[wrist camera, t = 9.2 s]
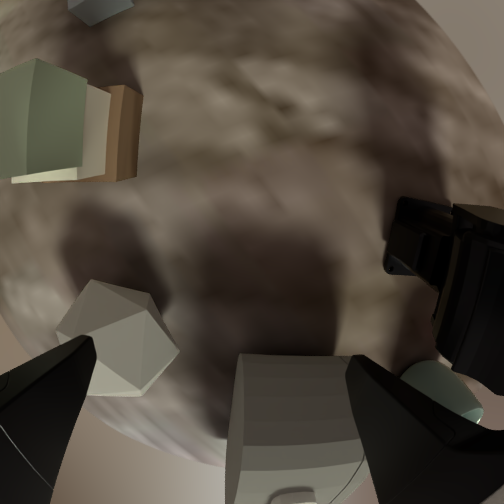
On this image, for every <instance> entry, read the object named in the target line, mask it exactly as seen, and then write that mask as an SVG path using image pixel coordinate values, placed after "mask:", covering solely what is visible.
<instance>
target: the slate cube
mask: <svg viewBox="0 0 504 504" xmlns="http://www.w3.org/2000/svg"><path fill="white" fill-rule="evenodd" d="M133 6H134V1H133V0H68V10H69V11H70V12H71V13H73V14H74V15H75V16H77V17H78V18H79V19H80V20H82V21H83V22H84V23H86V24H87V25H88V26H89V27H91V26H93V25H95V24H97V23H99V22H101V21H103V20H105V19H107V18H109V17H111V16H113V15H115V14H117V13H119V12H122V11H124V10H126V9H128V8H131V7H133Z"/></svg>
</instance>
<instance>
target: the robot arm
mask: <svg viewBox="0 0 504 504" xmlns="http://www.w3.org/2000/svg"><path fill="white" fill-rule="evenodd" d="M404 200H405V205H403V201H404ZM450 212H451V214H450ZM387 251H388V253H387V257H386V262H385V266H384V270H385V272H386V273H388V274H391V275H408V276H417V277H419V278H420V279H421V280H423V281H424V282H425V283H426V284H428V285H429V286H430V287H431V288H433V289H434V290H435V291H436V292H438V293H439V296H438V300H437V304H436V308H435V312H434V314H432V318H431V323H432V326H433V331H432V333H433V336H434V338H435V341H436V346H435V347H436V349H437V351H438V352H439V353H440V354H441V355H442V356H443V357H444V358H445V359H447V360H448V361H449V362H450V363H451V364H453V365H452V367H451V370H452V371H453V372H457V373H460V374H464V375H467V376H469V377H471V378H473V379H475V380H477V381H479V382H480V383H481V384H483V385H484V386H485V387H487V388H488V389H489V390H491V391H492V392H493V393H494V394H496V395H500V396H504V210H502V209H499V208H495V207H491V206H480V205H468V204H455V203H453V208H452V207H449V206H445V205H440V204H436V203H432V202H428V201H423V200H419V199H414V198H409V197H405V196H402V197H400V198H399V200H398V204H397V210H396V215H395V220H394V222H393V226H392V231H391V235H390V240H389V245H388V249H387ZM390 266H392V267H391V269H390V270H389V267H390ZM96 361H97V353H96V349H95V345H94V341H93V338H92V337H91V336H88V335H83V334H82V335H79V336H77V337H75V338H73V339H71V340H69V341H67V342H65V343H63V344H61V345H59V346H57V347H55V348H53V349H51V350H49V351H47V352H45V353H43V354H42V355H40V356H38V357H36V358H34V359H32V360H30V361H28V362H26V363H24V364H22V365H20V366H18V367H16V368H14V369H12V370H10V372H9V371H8V372H6V373H4V374H2V375H0V504H50V501H51V497H52V493H53V489H54V486H55V483H56V479H57V476H58V473H59V469H60V466H61V463H62V460H63V457H64V454H65V451H66V448H67V445H68V442H69V440H70V437H71V434H72V431H73V428H74V426H75V423H76V420H77V418H78V415H79V413H80V410H81V408H82V405H83V403H84V400H85V397H86V395H87V392H88V388H89V385H90V381H91V378H92V374H93V371H94V368H95V364H96ZM345 380H346V385H347V390H348V395H349V400H350V405H351V410H352V414H353V418H354V421H355V424H356V427H357V430H358V433H359V437H360V440H361V443H362V446H363V450H364V453H365V456H366V460H367V463H368V466H369V470H370V473H371V476H372V480H373V484H374V487H375V491H376V494H377V498H378V502H379V504H504V430H491V429H487V428H485V427H482V426H481V425H478V424H476V423H474V422H472V421H470V420H468V419H466V418H464V417H462V416H460V415H459V414H457V413H455V412H453V411H451V410H449V409H448V408H446V407H444V406H443V405H441V404H439V403H438V402H436V401H435V400H433V399H431V398H430V397H428V396H427V395H425V394H423V393H422V392H420V391H419V390H417V389H416V388H414V387H412V386H411V385H409V384H408V383H406V382H405V381H403V380H402V379H400V378H398V377H397V376H395V375H394V374H392V373H391V372H389V371H388V370H386V369H385V368H383V367H382V366H380V365H378V364H377V363H375V362H374V361H372V360H371V359H369V358H368V357H366V356H365V355H362V354H361V355H353V356H352V357H351V359H350V361H349V364H348V367H347V369H346V372H345Z"/></svg>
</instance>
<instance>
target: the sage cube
mask: <svg viewBox="0 0 504 504" xmlns="http://www.w3.org/2000/svg"><path fill="white" fill-rule="evenodd" d="M87 80H88V79H85V78H83V77H81V76H79V75H76V74H74V73H72V72H69V71H67V70H65V69H62V68H60V67H57V66H55V65H53V64H50V63H48V62H45V61H42V60H40V59H37V58H35V59H33V60H30V61H28V62H25V63H23V64H20V65H18V66H16V67H13V68H11V69H9V70H7V71H5V72H2V73H0V179H5V178H11V177H17V176H24V175H30V174H35V173H41V172H47V171H54V170H60V169H67V168H75V167H82V157H83V125H84V110H85V98H86V89H87Z"/></svg>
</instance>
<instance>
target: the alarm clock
mask: <svg viewBox="0 0 504 504" xmlns="http://www.w3.org/2000/svg"><path fill="white" fill-rule="evenodd" d="M351 357H352V356H284V355H261V354H244V353H240V354H239V357H238V361H237V368H236V375H235V382H234V390H233V398H232V406H231V414H230V422H229V430H228V439H227V449H226V468H225V470H226V471H225V504H342V503H343V502H344V501H345V500H346V499H347V498H348V497H349V496H350V495H351V494H352V493H353V492H354V490H355V489H357V488H358V486H359V485H360V484H361V483H362V482H363V481H364V480H365V479H366V477H367V476H368V474H369V473H370V470H369V466H368V463H367V460H366V456H365V453H364V450H363V446H362V443H361V440H360V437H359V433H358V430H357V427H356V424H355V421H354V418H353V414H352V410H351V405H350V400H349V395H348V390H347V385H346V380H345V372H346V369H347V367H348V364H349V361H350V359H351Z"/></svg>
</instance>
